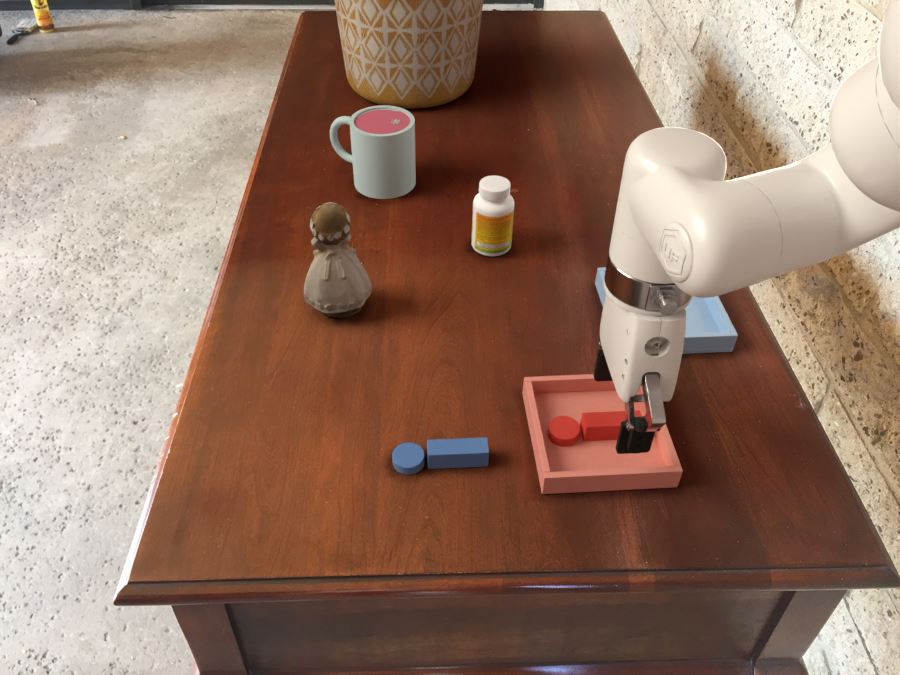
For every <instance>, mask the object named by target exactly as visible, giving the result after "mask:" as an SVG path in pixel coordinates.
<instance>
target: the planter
mask: <svg viewBox="0 0 900 675" xmlns="http://www.w3.org/2000/svg"><path fill="white" fill-rule="evenodd" d="M333 1H334V9H335V13H336V21H337V25H338V26H337V27H338V32H339V39H340V45H341V51H342V57H343V63H344V70H345V76H346V79H347V82H348V84H349V86H350V88H351V89H352V90H353V91H354V92H355V93H356V94H357V95H358V96H359V97H361V98H363V99H365V100H366V101H369V102H370V103H373V104H376V105H378V106H379V105H388V106H396V107H400V108H403V109H405V110H417V109H428V108H434V107H438V106H441V105H445V104H449V103H450V102H453V101H455V100H457V99H458V98H460V97H461V96H463V95H464V94H465V93H466V92H467V91H468V90H469V88H471V86H472V83H473V82H474V78H475V72H476V65H477V57H478V56H477V55H478V48H479V40H480V32H481V24H482V15H483V7H484V0H333Z"/></svg>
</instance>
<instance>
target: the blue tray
mask: <svg viewBox="0 0 900 675" xmlns="http://www.w3.org/2000/svg"><path fill="white" fill-rule="evenodd" d="M605 271H606V266H603V267H597V270H596V275H595V279H594V285H595V288H596V292H597V294H598V297H599V300H600V303H601V307H603V306H604V301H605V297H606V292H605V289H604V285H603V284H604V277H605ZM685 310H686V329H685V339H684V346H683V352H682V355H685V354H706V353H707V354H709V353H713V354H714V353H733V352H734V348H735V344H736V343H737V340H738V338H739V334H738V332H737V330H736V327H735V326H734V324H733V323H732V320H731V318H730V317H729V315H728V312H727V311H726V309H725V307H724V305H723V302H722V300H721V299H720V297H719V296H715V297H708V298H698V297H694V296H692V299H691V302H690V303H689V305H688V306H687V307H686V308H685Z"/></svg>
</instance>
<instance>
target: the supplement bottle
mask: <svg viewBox="0 0 900 675" xmlns="http://www.w3.org/2000/svg"><path fill="white" fill-rule="evenodd" d="M511 188H512V186H511V181H510V180H509V179H508V178H506V177H504V176H501V175H497V174H495V175H493V174H492V175H487V176H484V177H483V178H481V179H480V180H479V183H478V193H477V194H475V196H474V198H473V201H472V216H471V217H472V218H471V247H472V249H473V250H474V251H475V252H476V253H478V254H479V255H482V256H486V257H499V256H502V255H505V254H506V253H508V252H509V251H510V249H511V248H512V241H513V228H514V226H513V225H514V214H515V199H514V198H513V196H512V194H511Z"/></svg>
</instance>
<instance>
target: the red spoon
mask: <svg viewBox="0 0 900 675" xmlns="http://www.w3.org/2000/svg"><path fill="white" fill-rule="evenodd" d="M634 414H635V417H641V416H642V415H641V413H640V410H634ZM622 421H625V411H611V412H589V413H582V418H581V423H580V426H579V424H578V422H577V421H576V420H575V419H573V418H571V417H569V416H557V417H554V418H553V419H552V420H551V421H550V422H549V426H548V437H549V439H550V440H551V442H553V443H554V444H556V445H558V446H562V447H568V446H572V445H574V444H575V443H576V442H577V441H578V438H579V433H580V430H581V434H582V438H583V441H598V440H617V438H618V434H619V430H620V425H621V422H622Z"/></svg>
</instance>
